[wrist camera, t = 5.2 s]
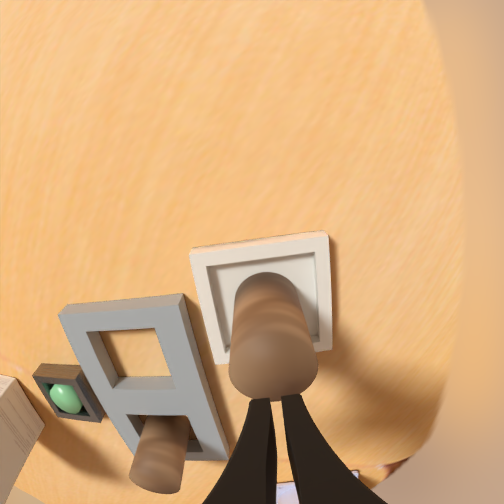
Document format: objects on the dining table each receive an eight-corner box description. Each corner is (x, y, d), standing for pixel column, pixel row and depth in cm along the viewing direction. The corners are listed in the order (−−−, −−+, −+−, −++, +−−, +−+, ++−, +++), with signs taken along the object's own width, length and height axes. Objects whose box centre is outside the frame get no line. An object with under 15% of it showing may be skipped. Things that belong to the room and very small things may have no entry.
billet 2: (294, 267, 18) (317, 328, 12) (300, 323, 19) (318, 395, 13) (229, 276, 18) (220, 341, 12) (239, 331, 19) (236, 405, 13)
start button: (78, 375, 21) (69, 389, 20) (92, 401, 22) (85, 415, 20) (53, 374, 21) (44, 386, 20) (67, 399, 22) (59, 411, 21)
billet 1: (183, 407, 22) (170, 472, 16) (195, 435, 23) (186, 495, 17) (141, 407, 22) (120, 467, 16) (155, 434, 24) (140, 491, 17)
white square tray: (323, 230, 18) (328, 235, 17) (328, 339, 20) (332, 349, 19) (192, 247, 18) (188, 254, 17) (216, 353, 20) (215, 364, 19)
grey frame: (183, 293, 19) (178, 304, 17) (229, 447, 24) (228, 459, 23) (67, 304, 19) (57, 314, 18) (138, 446, 24) (135, 457, 23)
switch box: (83, 365, 21) (75, 379, 19) (107, 408, 23) (100, 422, 21) (41, 363, 21) (32, 375, 19) (65, 404, 23) (57, 416, 21)
